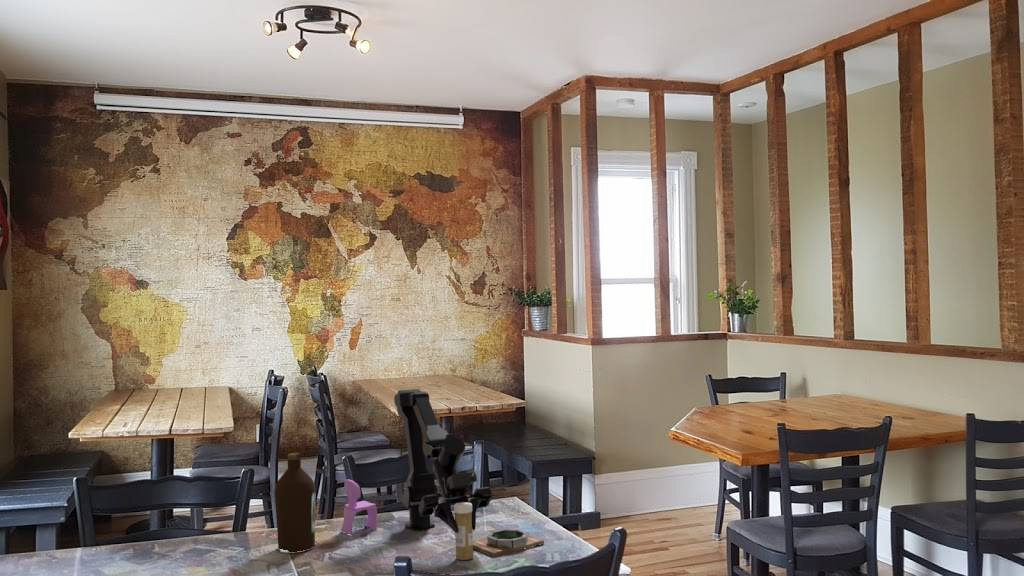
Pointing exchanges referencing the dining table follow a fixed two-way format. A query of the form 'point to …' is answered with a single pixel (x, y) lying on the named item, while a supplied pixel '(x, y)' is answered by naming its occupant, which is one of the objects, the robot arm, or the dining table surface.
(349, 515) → the toy chair
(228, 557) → the dining table surface
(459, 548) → the sprinkles bottle
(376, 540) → the dining table surface
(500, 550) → the wooden base board
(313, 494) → the olive oil
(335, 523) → the dining table surface
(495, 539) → the ring
